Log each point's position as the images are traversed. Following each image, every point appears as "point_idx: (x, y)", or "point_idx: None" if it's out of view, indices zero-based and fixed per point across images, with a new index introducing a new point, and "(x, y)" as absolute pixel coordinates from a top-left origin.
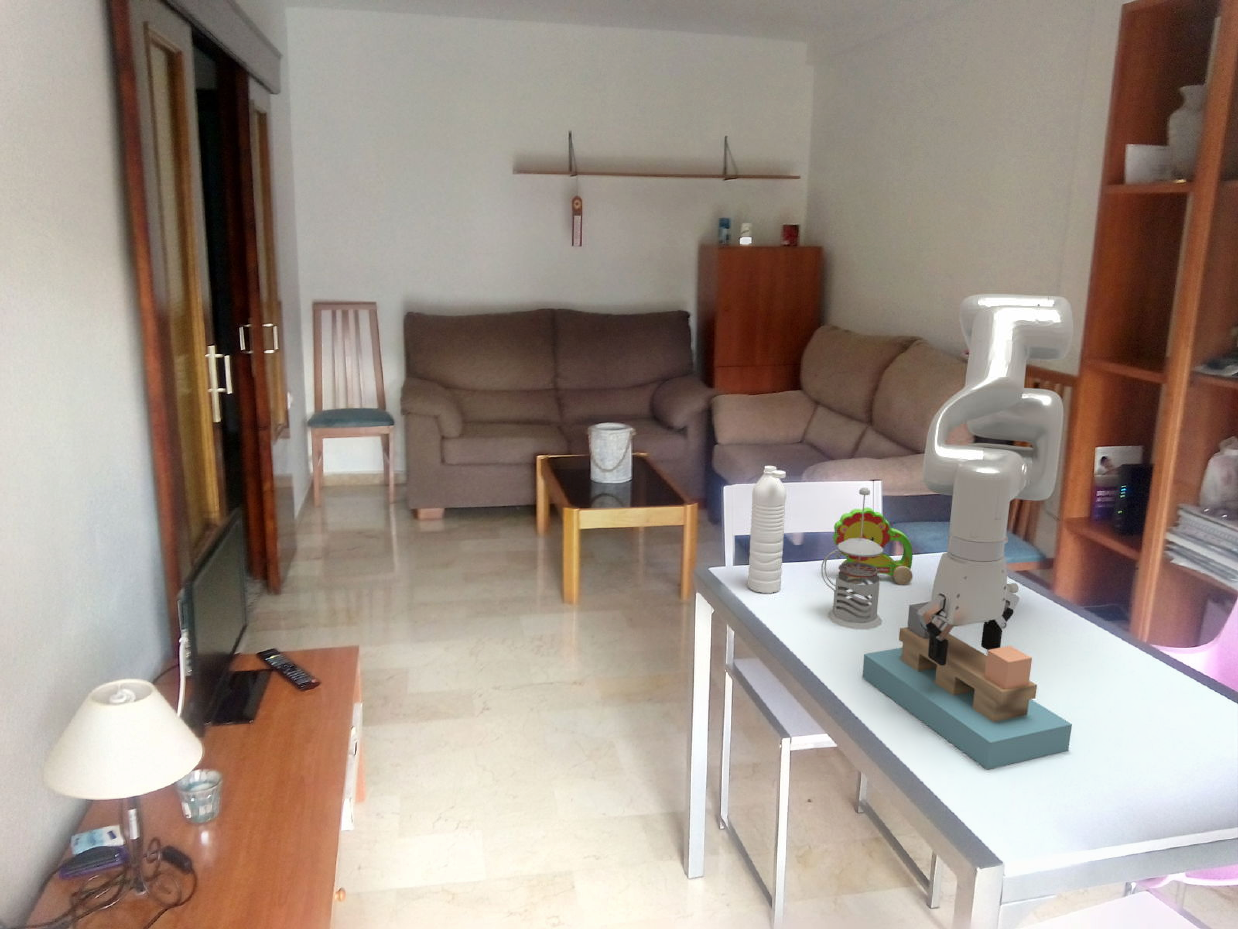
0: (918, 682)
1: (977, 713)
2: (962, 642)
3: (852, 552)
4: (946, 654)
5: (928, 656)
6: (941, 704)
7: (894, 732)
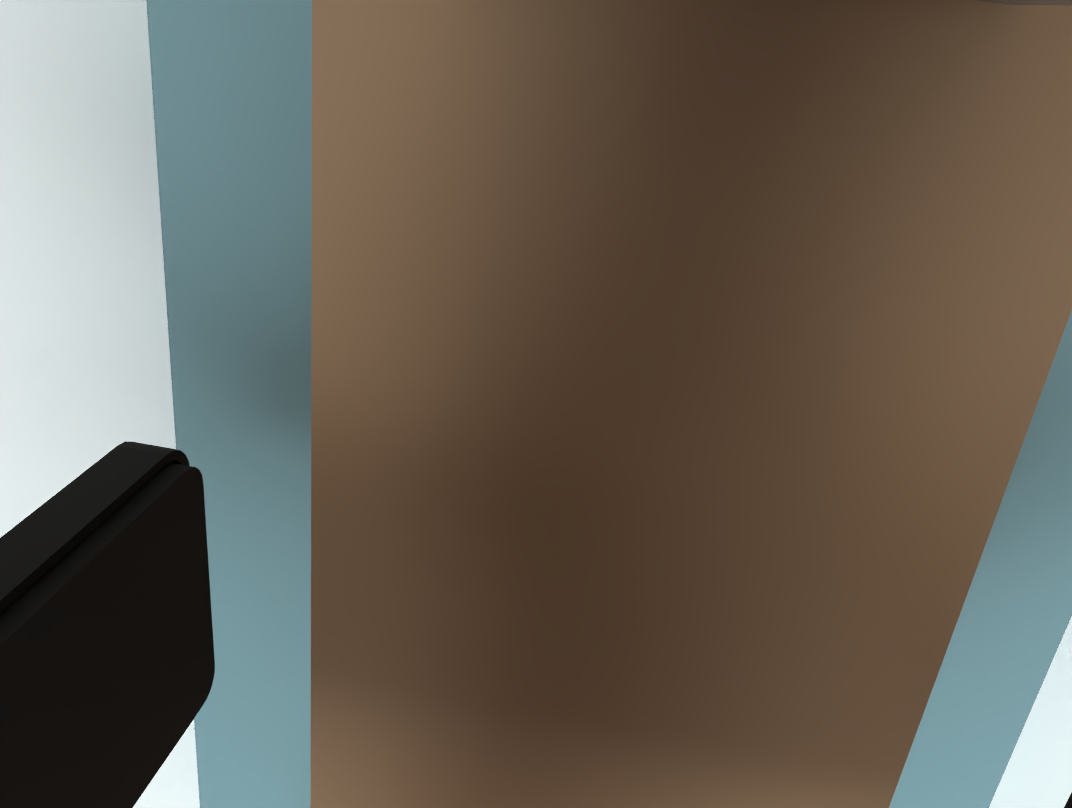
0: (287, 218)
1: None
2: (991, 420)
3: None
4: (126, 802)
5: (135, 443)
6: (223, 589)
7: (20, 360)
